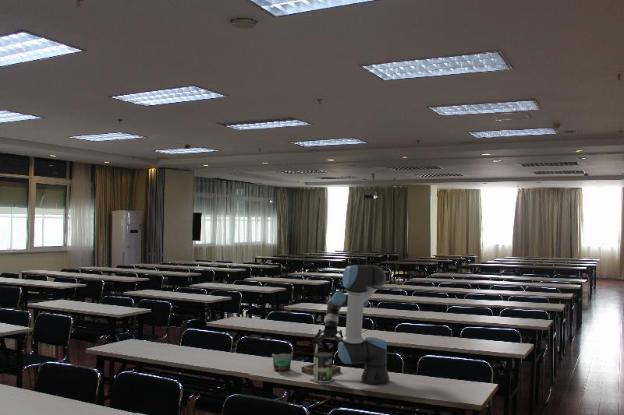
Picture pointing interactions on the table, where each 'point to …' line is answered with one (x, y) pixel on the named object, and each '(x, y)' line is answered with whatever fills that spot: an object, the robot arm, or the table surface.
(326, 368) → the coffee can
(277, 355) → the food container
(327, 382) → the mat
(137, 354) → the table surface
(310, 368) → the wooden tray
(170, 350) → the table surface
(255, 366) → the table surface
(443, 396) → the table surface
